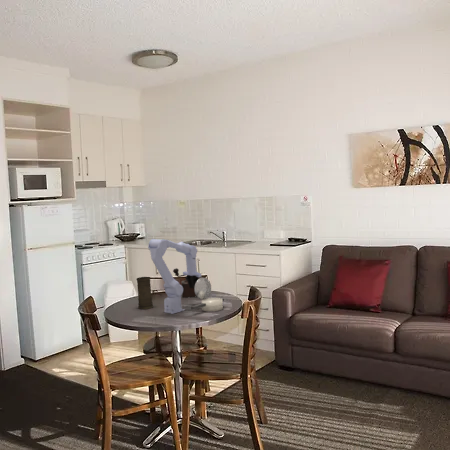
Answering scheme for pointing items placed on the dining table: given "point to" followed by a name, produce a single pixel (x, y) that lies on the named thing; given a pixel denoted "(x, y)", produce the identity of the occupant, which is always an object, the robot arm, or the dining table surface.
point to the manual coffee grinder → (185, 286)
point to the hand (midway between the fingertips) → (192, 288)
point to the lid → (202, 288)
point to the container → (144, 293)
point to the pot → (210, 304)
